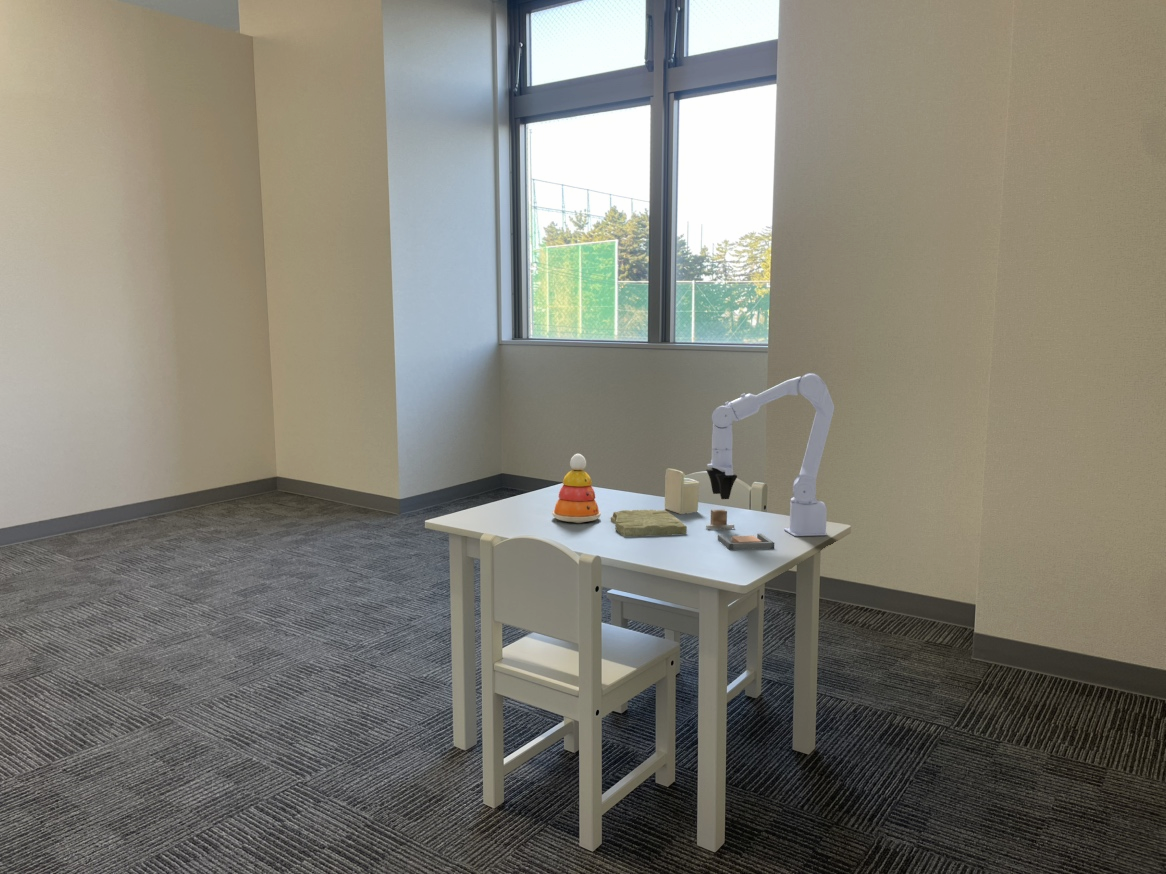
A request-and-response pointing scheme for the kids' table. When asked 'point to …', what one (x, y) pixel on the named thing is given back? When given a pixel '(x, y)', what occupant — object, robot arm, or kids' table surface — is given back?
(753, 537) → the terracotta tile
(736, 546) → the slate frame
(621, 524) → the decorative tile
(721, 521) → the walnut scraper
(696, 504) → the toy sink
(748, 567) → the kids' table surface
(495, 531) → the kids' table surface
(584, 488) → the stacking toy
